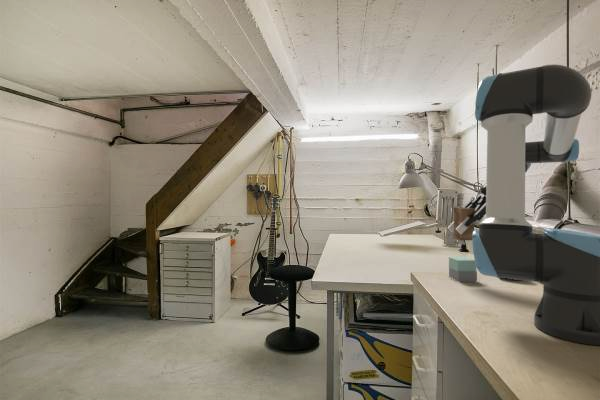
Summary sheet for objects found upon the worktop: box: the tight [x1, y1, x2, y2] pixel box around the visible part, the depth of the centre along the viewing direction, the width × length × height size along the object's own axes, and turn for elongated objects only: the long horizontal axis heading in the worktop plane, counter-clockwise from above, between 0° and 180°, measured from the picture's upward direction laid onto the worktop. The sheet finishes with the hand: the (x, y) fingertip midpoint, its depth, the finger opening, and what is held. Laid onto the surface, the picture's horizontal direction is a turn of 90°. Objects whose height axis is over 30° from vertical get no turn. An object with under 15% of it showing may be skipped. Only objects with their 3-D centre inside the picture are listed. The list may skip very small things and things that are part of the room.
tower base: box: [448, 267, 478, 283], centre depth 124 cm, size 7×7×4 cm
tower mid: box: [448, 256, 477, 271], centre depth 125 cm, size 7×7×4 cm
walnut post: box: [453, 207, 475, 241], centre depth 124 cm, size 5×5×12 cm
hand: (454, 230), depth 124 cm, fingers closed on walnut post, 5 cm apart
